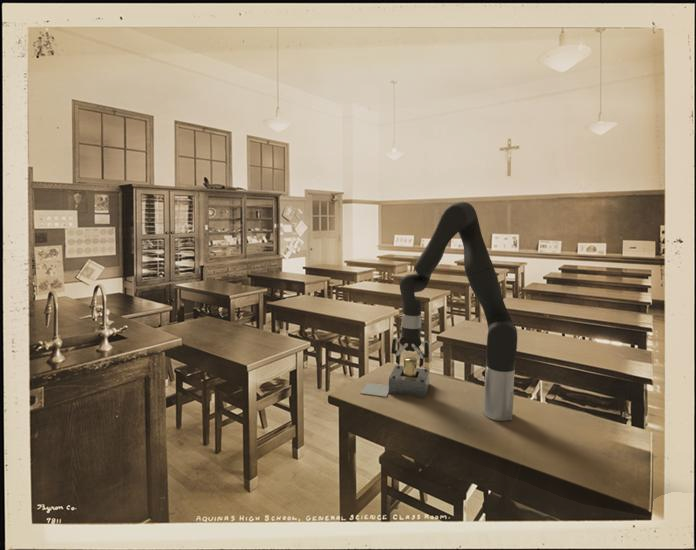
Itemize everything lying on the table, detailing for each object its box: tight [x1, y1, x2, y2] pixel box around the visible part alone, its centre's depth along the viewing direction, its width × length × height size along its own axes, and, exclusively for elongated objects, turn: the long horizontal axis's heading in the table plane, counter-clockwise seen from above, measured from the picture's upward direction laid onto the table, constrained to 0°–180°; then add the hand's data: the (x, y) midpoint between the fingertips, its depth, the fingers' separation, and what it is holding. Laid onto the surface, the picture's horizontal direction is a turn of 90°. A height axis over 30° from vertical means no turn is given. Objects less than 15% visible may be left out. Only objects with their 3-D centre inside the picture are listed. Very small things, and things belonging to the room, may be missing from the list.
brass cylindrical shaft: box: [403, 356, 418, 378], centre depth 160 cm, size 5×5×12 cm
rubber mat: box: [360, 382, 390, 398], centre depth 159 cm, size 10×10×1 cm
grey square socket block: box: [388, 364, 431, 399], centre depth 161 cm, size 14×14×7 cm
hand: (409, 365), depth 160 cm, fingers open, 8 cm apart
